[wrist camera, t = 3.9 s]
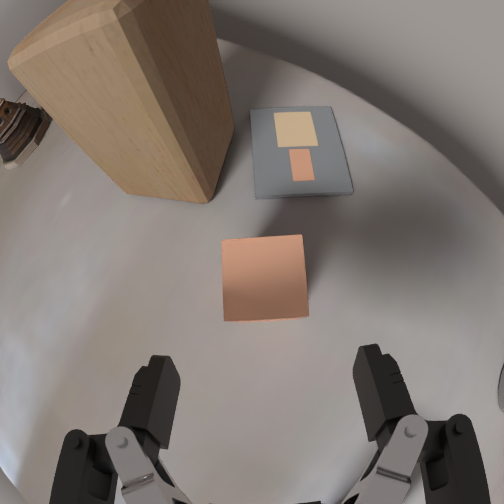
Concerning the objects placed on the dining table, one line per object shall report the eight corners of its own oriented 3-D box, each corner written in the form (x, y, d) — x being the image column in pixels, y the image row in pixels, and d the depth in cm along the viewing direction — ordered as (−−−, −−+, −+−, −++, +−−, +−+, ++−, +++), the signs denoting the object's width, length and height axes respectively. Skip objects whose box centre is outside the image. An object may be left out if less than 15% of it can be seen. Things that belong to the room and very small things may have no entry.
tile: (329, 110, 27) (330, 106, 26) (351, 194, 24) (353, 191, 23) (250, 113, 27) (249, 108, 27) (255, 199, 25) (255, 196, 24)
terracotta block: (292, 265, 23) (302, 234, 15) (296, 319, 22) (309, 315, 14) (239, 268, 23) (221, 239, 15) (241, 322, 22) (224, 320, 14)
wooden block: (238, 127, 27) (203, -50, 8) (212, 209, 25) (111, 3, 5) (157, 123, 28) (86, -14, 9) (124, 197, 26) (-3, 64, 7)
